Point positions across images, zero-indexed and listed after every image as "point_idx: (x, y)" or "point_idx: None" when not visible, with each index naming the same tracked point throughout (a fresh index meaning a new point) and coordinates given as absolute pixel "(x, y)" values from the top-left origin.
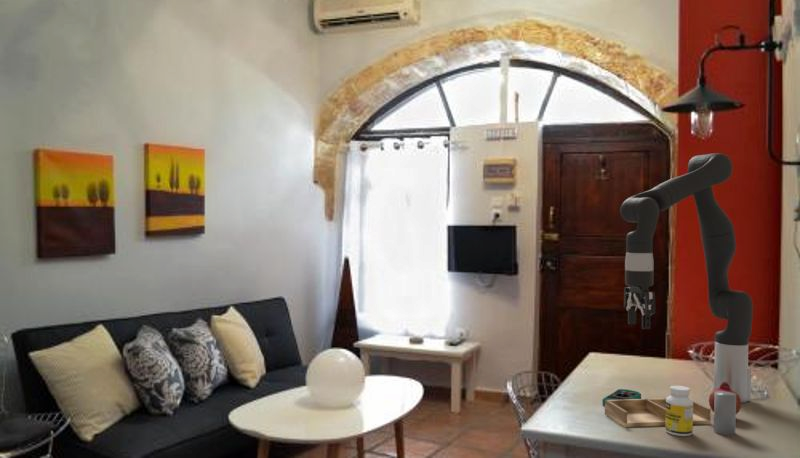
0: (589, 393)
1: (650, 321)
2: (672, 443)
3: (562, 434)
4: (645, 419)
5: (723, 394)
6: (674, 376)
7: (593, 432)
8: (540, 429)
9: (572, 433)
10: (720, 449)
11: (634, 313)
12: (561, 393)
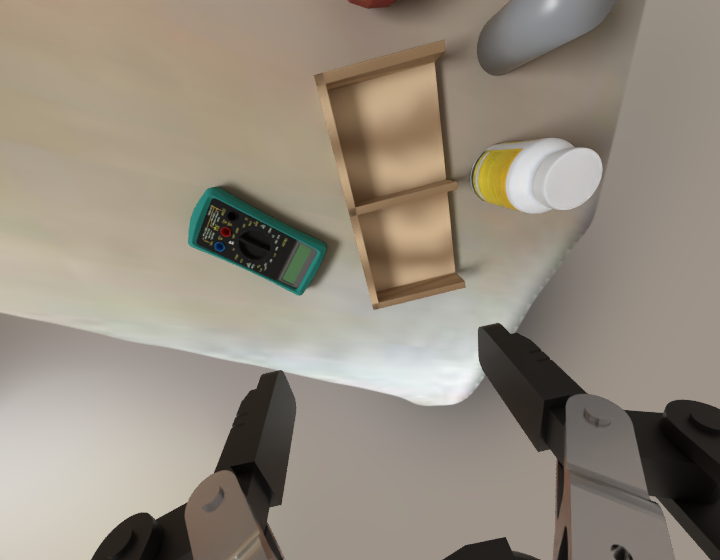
0: (196, 300)
1: (531, 355)
2: None
3: None
4: (430, 230)
5: (594, 2)
6: None
7: None
8: (461, 393)
9: None
10: (607, 115)
11: (267, 452)
12: (219, 353)
